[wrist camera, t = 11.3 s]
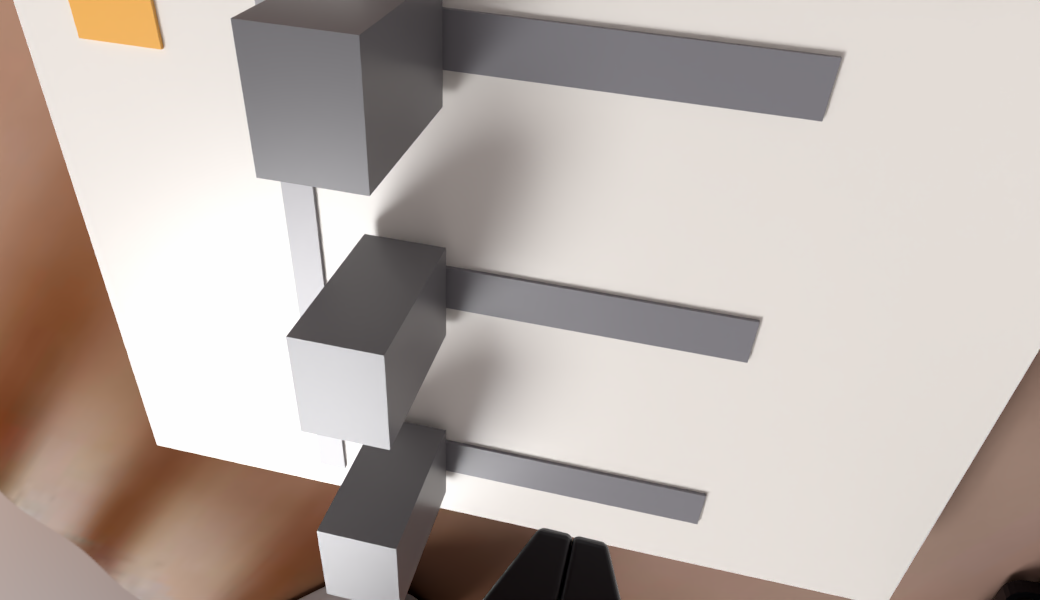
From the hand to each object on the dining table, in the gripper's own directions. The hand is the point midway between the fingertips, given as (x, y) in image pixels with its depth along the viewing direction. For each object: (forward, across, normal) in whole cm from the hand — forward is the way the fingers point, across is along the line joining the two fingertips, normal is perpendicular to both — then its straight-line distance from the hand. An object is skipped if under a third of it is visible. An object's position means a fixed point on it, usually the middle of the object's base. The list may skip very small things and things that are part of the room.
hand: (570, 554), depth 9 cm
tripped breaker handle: (+8, +5, -3) cm, 11 cm away
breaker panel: (+11, +3, +3) cm, 12 cm away
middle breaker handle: (+8, +5, +3) cm, 10 cm away
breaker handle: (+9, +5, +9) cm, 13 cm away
